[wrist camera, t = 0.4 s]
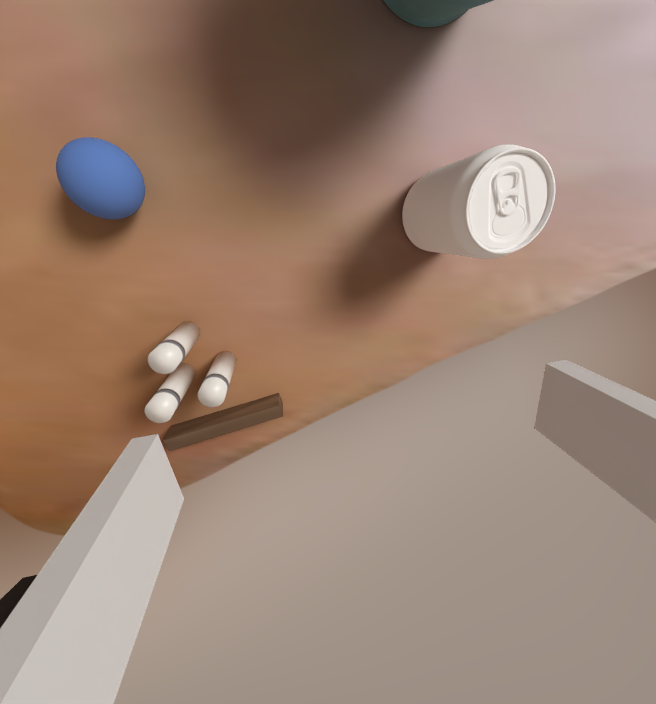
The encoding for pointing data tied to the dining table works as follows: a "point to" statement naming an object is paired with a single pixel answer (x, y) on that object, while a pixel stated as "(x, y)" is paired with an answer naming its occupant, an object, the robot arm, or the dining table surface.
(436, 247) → the beverage can
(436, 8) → the flower pot
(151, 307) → the dining table surface
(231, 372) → the pin
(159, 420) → the pin
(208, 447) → the dining table surface
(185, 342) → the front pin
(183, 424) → the wall
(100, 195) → the ball
